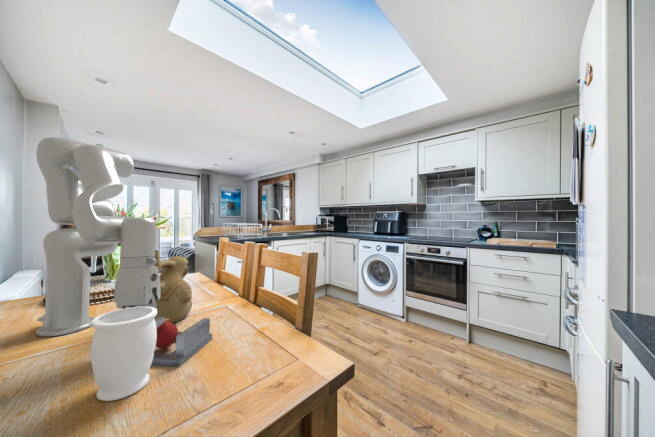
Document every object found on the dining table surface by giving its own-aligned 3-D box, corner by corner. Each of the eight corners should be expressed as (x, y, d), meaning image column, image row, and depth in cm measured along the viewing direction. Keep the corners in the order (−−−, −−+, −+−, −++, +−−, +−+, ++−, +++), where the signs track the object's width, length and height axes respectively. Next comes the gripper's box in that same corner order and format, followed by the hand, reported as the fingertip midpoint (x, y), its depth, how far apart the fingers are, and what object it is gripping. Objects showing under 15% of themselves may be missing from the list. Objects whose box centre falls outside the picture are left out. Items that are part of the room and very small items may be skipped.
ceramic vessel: (203, 309, 94) (205, 245, 95) (172, 332, 75) (174, 251, 75) (159, 309, 94) (161, 245, 94) (116, 332, 74) (119, 251, 75)
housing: (94, 361, 59) (95, 334, 59) (142, 334, 73) (143, 313, 73) (179, 366, 57) (180, 339, 57) (212, 338, 71) (212, 316, 71)
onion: (164, 356, 61) (165, 325, 61) (146, 353, 62) (147, 322, 63) (182, 345, 67) (183, 316, 67) (165, 342, 68) (166, 314, 68)
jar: (117, 372, 55) (120, 305, 55) (165, 370, 55) (167, 305, 56) (72, 408, 44) (75, 325, 44) (132, 405, 45) (135, 324, 45)
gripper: (173, 261, 69) (171, 325, 69) (125, 259, 70) (123, 323, 70) (152, 265, 61) (150, 338, 61) (98, 263, 63) (96, 334, 62)
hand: (135, 329), depth 65 cm, fingers closed
